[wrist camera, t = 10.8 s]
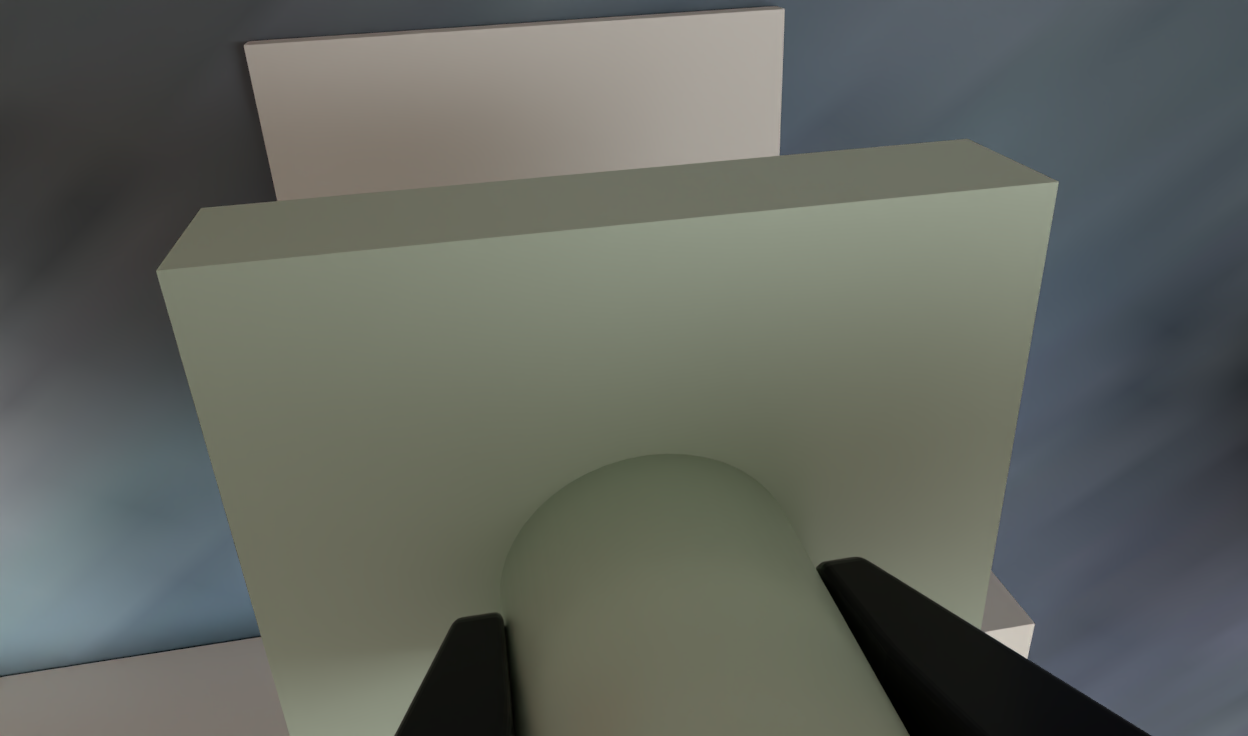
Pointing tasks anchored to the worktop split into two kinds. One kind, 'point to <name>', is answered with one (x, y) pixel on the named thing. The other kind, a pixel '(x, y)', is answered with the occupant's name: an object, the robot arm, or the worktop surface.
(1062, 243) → the worktop surface
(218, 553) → the worktop surface
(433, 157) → the pad
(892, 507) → the cover
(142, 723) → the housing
